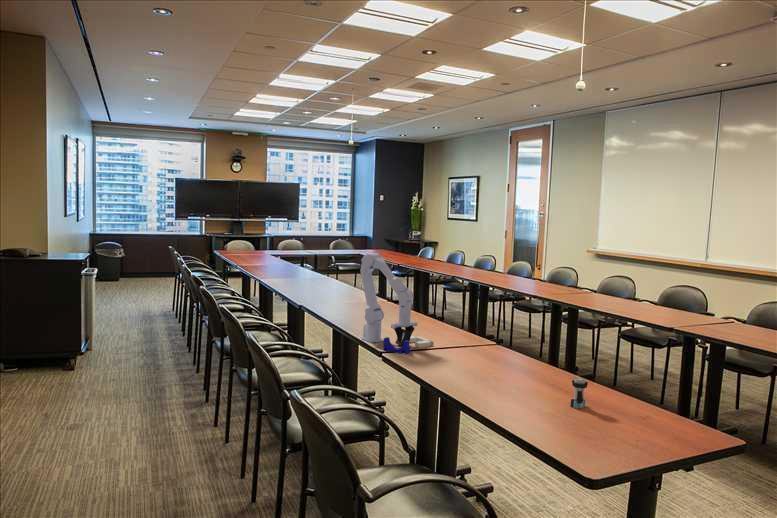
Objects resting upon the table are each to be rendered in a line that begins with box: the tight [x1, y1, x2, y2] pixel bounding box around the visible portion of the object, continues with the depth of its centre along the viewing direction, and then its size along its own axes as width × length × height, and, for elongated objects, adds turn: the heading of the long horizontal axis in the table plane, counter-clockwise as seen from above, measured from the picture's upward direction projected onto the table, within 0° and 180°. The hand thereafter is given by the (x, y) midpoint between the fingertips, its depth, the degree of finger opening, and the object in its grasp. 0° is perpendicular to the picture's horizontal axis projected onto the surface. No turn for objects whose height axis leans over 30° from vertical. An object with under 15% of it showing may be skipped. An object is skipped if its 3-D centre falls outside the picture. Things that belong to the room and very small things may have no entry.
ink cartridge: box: [395, 328, 410, 347], centre depth 270 cm, size 5×2×8 cm, turn 35°
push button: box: [570, 377, 589, 409], centre depth 193 cm, size 7×5×10 cm
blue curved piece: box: [382, 336, 411, 355], centre depth 259 cm, size 12×4×6 cm, turn 63°
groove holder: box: [409, 335, 434, 349], centre depth 276 cm, size 14×9×2 cm, turn 35°
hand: (403, 341), depth 270 cm, fingers closed on ink cartridge, 4 cm apart
